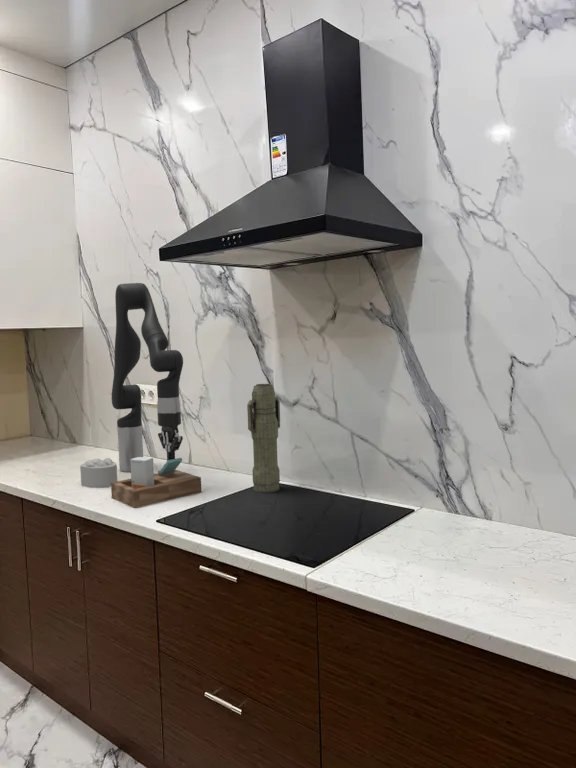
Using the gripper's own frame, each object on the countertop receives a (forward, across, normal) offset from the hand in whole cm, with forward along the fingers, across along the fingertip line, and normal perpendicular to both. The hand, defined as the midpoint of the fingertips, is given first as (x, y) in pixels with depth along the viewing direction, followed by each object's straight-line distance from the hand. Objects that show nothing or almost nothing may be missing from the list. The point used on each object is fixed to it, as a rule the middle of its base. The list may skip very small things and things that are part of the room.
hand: (171, 462), depth 193 cm
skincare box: (+9, 0, -11) cm, 14 cm away
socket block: (+10, 0, -6) cm, 11 cm away
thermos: (+10, +21, +23) cm, 33 cm away
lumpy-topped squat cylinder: (+10, -28, -13) cm, 33 cm away
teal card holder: (+2, -1, 0) cm, 2 cm away
